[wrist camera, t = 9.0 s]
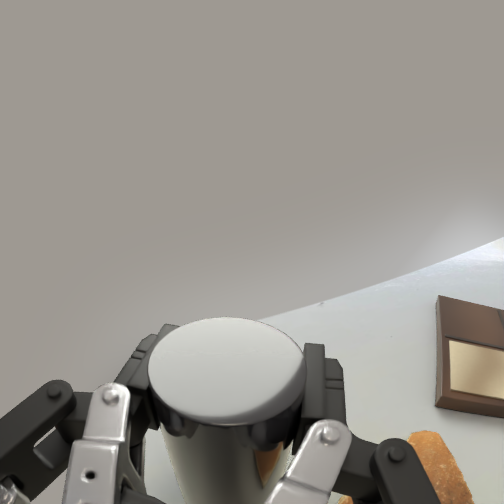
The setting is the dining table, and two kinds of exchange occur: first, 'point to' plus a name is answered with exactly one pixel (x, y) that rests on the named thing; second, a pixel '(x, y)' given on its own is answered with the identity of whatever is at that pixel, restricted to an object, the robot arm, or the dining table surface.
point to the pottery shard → (437, 469)
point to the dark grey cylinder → (227, 406)
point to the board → (470, 357)
